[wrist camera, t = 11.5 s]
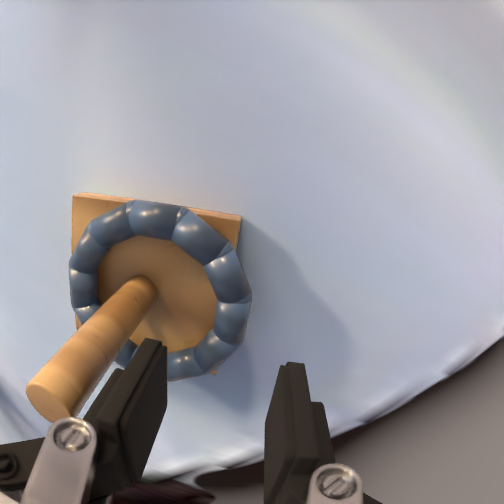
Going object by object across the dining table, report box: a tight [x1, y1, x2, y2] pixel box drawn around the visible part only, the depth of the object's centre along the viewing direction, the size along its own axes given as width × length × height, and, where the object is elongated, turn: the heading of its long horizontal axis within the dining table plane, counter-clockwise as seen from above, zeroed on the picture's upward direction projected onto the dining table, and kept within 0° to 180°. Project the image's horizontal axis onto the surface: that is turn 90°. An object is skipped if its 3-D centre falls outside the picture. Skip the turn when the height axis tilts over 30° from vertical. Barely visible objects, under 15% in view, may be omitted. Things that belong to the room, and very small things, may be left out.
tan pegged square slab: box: [26, 193, 242, 423], centre depth 12 cm, size 9×9×10 cm
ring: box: [69, 200, 252, 382], centre depth 15 cm, size 10×10×2 cm
